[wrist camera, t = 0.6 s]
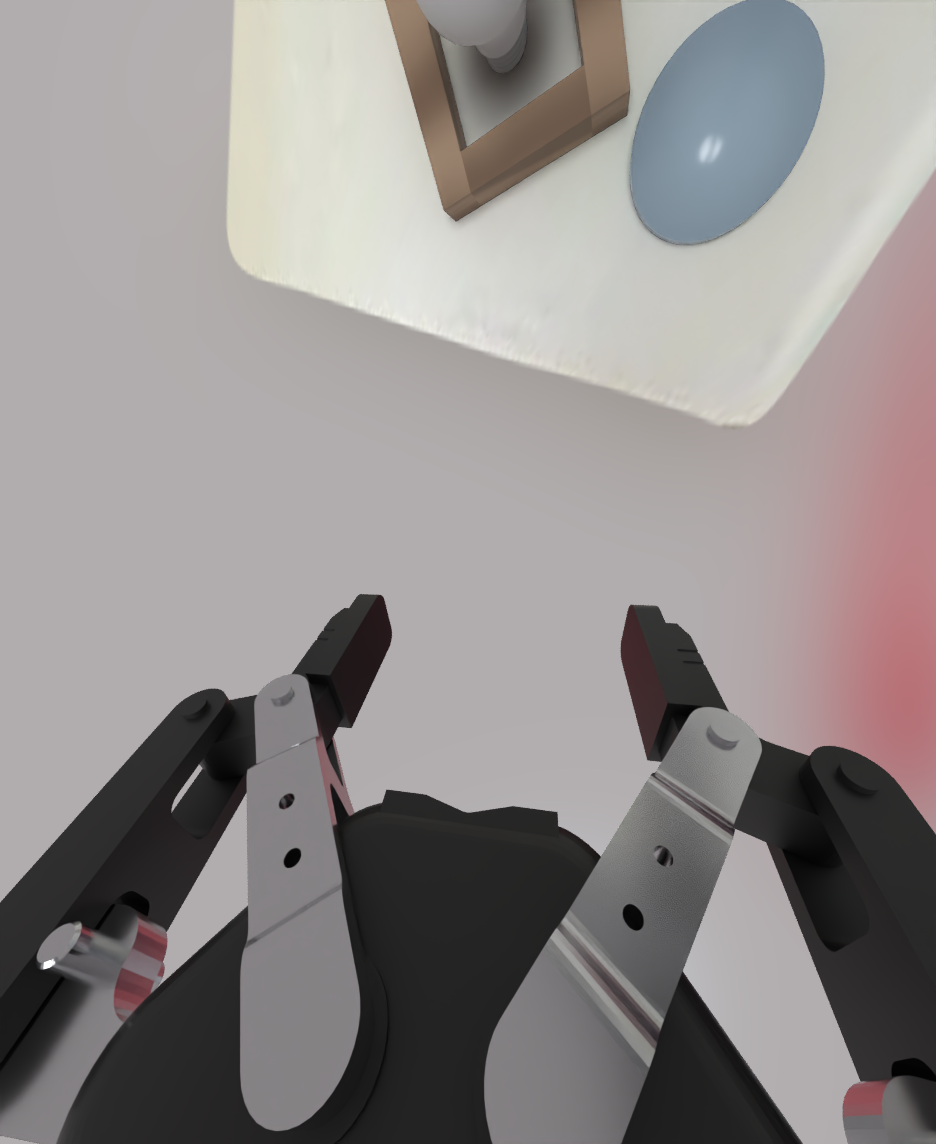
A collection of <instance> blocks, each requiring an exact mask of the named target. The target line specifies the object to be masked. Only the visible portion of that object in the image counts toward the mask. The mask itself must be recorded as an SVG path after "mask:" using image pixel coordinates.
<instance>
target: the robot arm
mask: <svg viewBox="0 0 936 1144" xmlns="http://www.w3.org/2000/svg"><path fill="white" fill-rule="evenodd" d="M391 638H392V629H391V625H390V621H389V617H388V613H387V609H386V605H385V601H384V598H383V596H381V595H368V594H360V595H358V596H357V597H356V599H355V600H354V602H353V603H352V605H351V606H350V608H344V609H343V610H341V611H340V612H338V613H337V614H336V615H335V616H333V617H332V618H331V619H330V621H329V622H328V624H327V625H326V626H325V628H324V631H322V632H321V633H320V635H319V636H318V638H317V640H316V641H315V642H314V643H313V645H312V646H311V647H310V649H309V650H308V652H307V653H306V654H305V656H304V657H303V659H302V660H301V662H300V663H299V664H298V666H297V667H296V668H295V670H294V671H293V673H292V674H290V675H285V676H282V677H279V678H277V679H275V680H273V681H271V682H270V683H269V684H267V685H266V686H265V687H264V688H263V689H262V690H261V691H260V692H259V694H258V695H254V696H249V697H244V698H239V699H234V700H229V699H228V698H227V696H226V695H225V693H224V692H223V691H222V690H219V689H206V690H203V691H200V692H197V693H195V694H193V695H191V696H189V697H188V698H186V699H184V700H183V701H182V702H180V703H179V704H178V705H177V706H176V707H175V708H174V709H173V710H172V711H171V712H170V713H169V714H168V716H167V717H166V718H165V719H164V720H163V721H162V722H161V724H160V725H159V726H158V727H157V728H156V729H155V730H154V731H153V732H152V734H151V735H150V736H149V737H148V738H147V739H146V740H145V741H144V742H143V744H142V745H141V746H140V747H139V748H138V749H137V750H136V751H135V753H134V754H133V755H132V756H131V757H130V758H129V759H128V760H127V761H126V763H125V764H124V765H123V766H122V767H121V768H120V769H119V771H118V772H117V773H116V774H115V775H114V776H113V777H112V778H111V780H110V781H109V782H108V783H107V784H106V785H105V786H104V787H103V788H102V790H100V792H99V793H98V794H97V795H96V796H95V797H94V798H93V800H92V801H91V802H90V803H89V804H88V805H87V806H86V807H85V809H84V810H83V811H82V812H81V813H80V814H79V815H78V816H77V817H76V819H75V820H74V821H73V822H72V823H71V824H70V825H69V826H68V827H67V829H66V830H65V831H64V832H63V833H62V834H61V835H60V836H59V837H58V839H57V840H56V841H55V842H54V843H53V844H52V845H51V847H50V848H49V849H48V850H47V851H46V852H45V853H44V854H43V855H42V857H41V858H40V859H39V860H38V861H37V862H36V863H35V864H34V865H33V867H32V868H31V869H30V870H29V871H28V872H27V873H26V874H25V876H24V877H23V878H22V879H21V880H20V881H19V882H18V883H17V884H16V886H15V887H14V888H13V889H12V890H11V891H10V892H9V893H8V894H7V896H6V897H5V898H4V899H3V900H2V901H1V903H0V1136H5V1137H10V1138H15V1139H19V1140H24V1141H29V1142H34V1143H39V1144H803V1143H802V1142H801V1140H800V1139H799V1138H798V1136H797V1135H796V1133H795V1132H794V1130H793V1129H792V1127H791V1126H790V1125H789V1123H788V1122H787V1120H786V1119H785V1117H784V1116H783V1114H782V1113H781V1112H780V1110H779V1109H778V1107H777V1106H776V1105H775V1103H774V1102H773V1100H772V1099H771V1097H770V1096H769V1094H768V1093H767V1092H766V1090H765V1089H764V1088H763V1086H762V1084H761V1083H760V1082H759V1080H758V1079H757V1077H756V1076H755V1074H754V1073H753V1072H752V1070H751V1069H750V1067H749V1066H748V1064H747V1063H746V1061H745V1060H744V1059H743V1057H742V1056H741V1055H740V1053H739V1051H738V1050H737V1049H736V1047H735V1046H734V1044H733V1043H732V1041H731V1040H730V1039H729V1037H728V1036H727V1034H726V1033H725V1031H724V1030H723V1029H722V1027H721V1026H720V1025H719V1023H718V1021H717V1020H716V1018H715V1017H714V1016H713V1014H712V1013H711V1011H710V1010H709V1008H708V1007H707V1006H706V1004H705V1003H704V1002H703V1000H702V998H701V997H700V996H699V994H698V993H697V991H696V990H695V989H694V987H693V986H692V984H691V983H690V981H689V980H688V979H687V977H686V975H685V974H684V973H683V968H684V966H685V963H686V960H687V958H688V955H689V953H690V950H691V947H692V945H693V942H694V940H695V937H696V934H697V931H698V929H699V927H700V924H701V921H702V919H703V916H704V913H705V911H706V908H707V905H708V903H709V900H710V898H711V895H712V892H713V890H714V887H715V885H716V882H717V879H718V877H719V874H720V871H721V869H722V866H723V863H724V861H725V858H726V856H727V853H728V850H729V848H730V845H731V842H732V839H733V836H734V832H735V829H737V830H740V831H742V832H744V833H746V834H749V835H751V836H753V837H756V838H758V839H760V840H762V841H765V842H766V843H767V845H768V848H769V850H770V853H771V855H772V858H773V860H774V863H775V866H776V868H777V870H778V873H779V875H780V878H781V881H782V883H783V886H784V888H785V891H786V893H787V896H788V899H789V901H790V904H791V906H792V909H793V911H794V914H795V916H796V919H797V921H798V924H799V926H800V929H801V931H802V934H803V937H804V939H805V941H806V944H807V946H808V949H809V952H810V954H811V956H812V959H813V962H814V964H815V967H816V970H817V972H818V974H819V977H820V979H821V982H822V985H823V987H824V990H825V992H826V995H827V997H828V1000H829V1002H830V1005H831V1008H832V1010H833V1013H834V1015H835V1018H836V1020H837V1023H838V1025H839V1028H840V1030H841V1033H842V1035H843V1038H844V1040H845V1043H846V1046H847V1048H848V1051H849V1053H850V1056H851V1058H852V1060H853V1063H854V1066H855V1068H856V1071H857V1073H858V1076H859V1079H860V1081H861V1082H858V1083H856V1084H854V1085H852V1086H851V1087H850V1088H849V1089H848V1091H847V1093H846V1095H845V1097H844V1102H843V1123H844V1130H845V1134H846V1137H847V1142H848V1144H936V834H935V833H934V831H933V830H932V829H931V827H930V826H929V825H928V823H927V822H926V821H925V819H924V818H923V816H922V815H921V814H920V812H919V811H918V810H917V808H916V807H915V806H914V804H913V803H912V801H911V800H910V799H909V797H908V796H907V795H906V793H905V792H904V791H903V789H902V788H901V787H900V785H899V784H898V783H897V782H896V780H895V779H894V778H893V777H891V775H890V774H889V773H887V772H886V771H885V770H884V769H883V768H881V767H880V766H878V765H877V764H876V763H874V762H873V761H871V760H869V759H868V758H866V757H864V756H862V755H860V754H858V753H856V752H853V751H851V750H848V749H844V748H840V747H836V746H822V747H819V748H817V749H815V750H814V751H813V752H812V754H811V755H810V756H808V755H804V754H802V753H798V752H795V751H793V750H790V749H787V748H784V747H781V746H778V745H775V744H772V743H769V742H767V741H765V740H762V739H760V738H758V736H757V734H756V733H755V732H754V730H753V729H752V728H751V727H750V726H749V725H748V724H747V723H746V722H744V721H743V720H742V719H741V718H739V717H737V716H736V715H734V714H732V713H730V712H729V711H728V709H727V707H726V705H725V703H724V701H723V700H722V697H721V696H720V694H719V691H718V690H717V688H716V686H715V684H714V682H713V680H712V678H711V676H710V674H709V672H708V670H707V668H706V666H705V665H704V664H703V660H702V658H701V656H700V654H699V653H698V652H697V651H698V650H697V648H696V646H695V644H694V642H693V640H692V638H691V636H690V635H689V634H687V633H686V632H685V631H684V630H683V629H682V628H681V627H680V626H679V625H678V624H673V623H665V620H664V618H663V616H662V614H661V611H660V609H659V607H657V606H646V605H645V606H644V605H630V606H629V609H628V612H627V617H626V622H625V627H624V631H623V636H622V640H621V660H622V664H623V668H624V671H625V676H626V679H627V683H628V687H629V691H630V695H631V699H632V702H633V706H634V710H635V714H636V718H637V722H638V726H639V729H640V733H641V737H642V741H643V745H644V749H645V753H646V756H647V760H650V761H659V762H661V764H660V766H659V767H658V769H657V771H656V772H655V773H652V774H651V776H650V777H649V779H648V780H647V782H646V783H645V785H644V787H643V789H642V790H641V792H640V793H639V795H638V797H637V798H636V800H635V802H634V803H633V805H632V806H631V808H630V810H629V812H628V813H627V815H626V816H625V818H624V820H623V821H622V823H621V825H620V826H619V828H618V830H617V831H616V833H615V835H614V836H613V838H612V840H611V841H610V843H609V845H608V846H607V848H606V850H605V851H604V853H603V854H602V856H600V855H599V854H598V853H597V852H596V851H595V850H594V849H593V848H591V847H590V846H589V845H588V844H587V843H586V842H584V841H583V840H582V839H580V838H579V837H578V836H576V835H574V834H573V833H571V832H569V831H568V830H566V829H564V828H561V827H559V826H558V814H557V812H552V811H545V810H537V809H530V808H521V807H515V806H512V807H506V808H498V809H492V810H485V811H479V812H472V813H466V812H463V811H461V810H458V809H456V808H454V807H452V806H450V805H447V804H445V803H443V802H441V801H438V800H436V799H434V798H432V797H430V796H427V795H423V794H416V793H408V792H401V791H393V790H386V793H385V796H384V799H383V802H382V803H379V804H376V805H372V806H369V807H366V808H364V809H362V810H359V811H358V812H356V813H354V810H353V807H352V804H351V801H350V799H349V795H348V792H347V788H346V784H345V780H344V776H343V772H342V767H341V763H340V760H339V755H338V751H337V747H336V743H335V740H334V737H333V736H334V734H335V732H336V730H337V728H338V727H346V728H352V726H353V724H354V722H355V720H356V717H357V715H358V713H359V711H360V709H361V707H362V705H363V702H364V700H365V698H366V696H367V694H368V692H369V689H370V687H371V685H372V683H373V681H374V679H375V677H376V674H377V672H378V670H379V668H380V665H381V664H382V662H383V659H384V657H385V655H386V653H387V651H388V649H389V646H390V643H391ZM199 764H200V765H201V767H202V768H203V769H202V770H201V772H200V773H199V775H198V776H197V778H196V779H195V780H194V782H193V783H192V785H191V786H190V787H189V789H188V790H187V792H186V793H185V794H184V796H183V797H182V799H181V800H180V802H179V803H178V804H177V806H176V807H175V809H174V810H173V812H172V813H171V809H172V804H173V802H174V799H175V797H176V796H177V794H178V793H179V791H180V790H181V789H182V787H183V786H184V784H185V783H186V782H187V780H188V779H189V777H190V776H191V775H192V773H193V772H194V771H195V769H196V768H197V766H198V765H199ZM246 792H247V853H248V854H247V855H248V906H247V907H246V908H245V909H244V910H243V911H241V912H240V913H239V914H238V915H237V916H236V917H235V918H234V919H232V920H231V921H230V922H229V923H228V924H227V925H226V926H225V927H224V928H223V929H221V930H220V931H219V932H218V933H217V934H216V935H215V936H214V937H213V938H212V939H211V940H209V941H208V942H207V943H206V944H205V945H204V946H203V947H202V948H200V949H199V950H198V951H197V952H196V953H195V954H194V955H193V956H192V957H191V958H189V959H188V960H187V961H186V962H185V963H184V964H183V965H182V966H181V967H180V968H178V969H177V970H176V971H175V972H174V973H173V974H172V975H171V976H170V977H169V978H167V979H166V980H165V981H164V982H163V983H162V984H161V985H160V986H159V987H158V985H159V984H160V982H161V980H162V977H163V975H164V970H165V967H164V963H163V960H164V957H165V954H166V949H167V933H166V932H167V930H168V929H169V927H170V925H171V923H172V922H173V920H174V918H175V916H176V915H177V913H178V911H179V909H180V908H181V906H182V904H183V902H184V901H185V899H186V897H187V895H188V894H189V892H190V890H191V889H192V887H193V885H194V883H195V882H196V880H197V878H198V876H199V875H200V873H201V871H202V869H203V867H204V866H205V864H206V862H207V861H208V859H209V857H210V855H211V854H212V851H213V850H214V848H215V847H216V845H217V843H218V841H219V840H220V838H221V836H222V834H223V833H224V831H225V829H226V827H227V826H228V824H229V822H230V820H231V818H232V817H233V815H234V813H235V811H236V810H237V808H238V806H239V805H240V803H241V801H242V799H243V797H244V796H245V794H246ZM734 828H735V829H734Z"/></svg>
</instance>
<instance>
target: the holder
mask: <svg viewBox="0 0 936 1144" xmlns="http://www.w3.org/2000/svg"><path fill="white" fill-rule="evenodd" d="M385 2H386V6H387V9H388V13H389V16H390V20H391V24H392V27H393V31H394V34H395V38H396V41H397V45H398V49H399V52H400V56H401V59H402V63H403V66H404V70H405V74H406V77H407V81H408V84H409V88H410V91H411V95H412V99H413V102H414V106H415V109H416V113H417V116H418V120H419V124H420V127H421V131H422V134H423V138H424V141H425V145H426V149H427V152H428V156H429V159H430V163H431V166H432V170H433V174H434V177H435V181H436V184H437V188H438V191H439V195H440V198H441V202H442V206H443V209H444V211H445V212H446V213H447V214H448V215H450V216H451V217H452V218H453V219H454V220H455V221H457V220H459V219H460V218H462V217H464V216H465V215H467V214H469V213H470V212H472V211H473V210H475V209H477V208H478V207H480V206H481V205H483V204H485V203H486V202H488V201H489V200H491V199H493V198H494V197H496V196H498V195H499V194H501V193H502V192H504V191H506V190H507V189H509V188H510V187H512V186H514V185H515V184H517V183H519V182H520V181H522V180H523V179H525V178H527V177H528V176H530V175H531V174H533V173H535V172H536V171H538V170H539V169H541V168H543V167H544V166H546V165H548V164H549V163H551V162H552V161H554V160H556V159H557V158H559V157H560V156H562V155H564V154H565V153H567V152H568V151H570V150H572V149H573V148H575V147H577V146H578V145H580V144H581V143H583V142H585V141H586V140H588V139H589V138H591V137H593V136H594V135H596V134H598V133H599V132H601V131H602V130H604V129H606V128H607V127H609V126H610V125H612V124H614V123H615V122H617V121H618V120H620V119H622V118H623V117H625V116H627V112H628V103H629V95H630V85H629V75H628V66H627V57H626V47H625V38H624V28H623V19H622V10H621V0H573V5H574V12H575V19H576V26H577V33H578V40H579V48H580V55H581V62H582V66H581V67H580V68H579V69H577V70H576V71H574V72H573V73H572V74H570V75H569V76H567V77H566V78H564V79H563V80H562V81H560V82H559V83H557V84H556V85H555V86H553V87H552V88H550V89H549V90H547V91H546V92H545V93H543V94H542V95H540V96H539V97H538V98H536V99H535V100H533V101H532V102H530V103H529V104H528V105H526V106H525V107H523V108H522V109H521V110H519V111H518V112H516V113H515V114H513V115H512V116H511V117H509V118H508V119H506V120H505V121H504V122H502V123H501V124H499V125H498V126H496V127H495V128H494V129H492V130H491V131H489V132H488V133H487V134H485V135H484V136H482V137H481V138H479V139H478V140H477V141H475V142H474V143H472V144H471V145H470V146H468V147H466V143H465V139H464V134H463V130H462V126H461V122H460V118H459V114H458V110H457V106H456V102H455V98H454V94H453V90H452V86H451V82H450V78H449V74H448V70H447V66H446V61H445V57H444V53H443V49H442V45H441V41H440V37H439V33H438V31H437V30H436V29H435V28H434V27H433V26H432V25H431V24H430V23H429V22H428V20H427V19H426V17H425V15H424V14H423V12H422V10H421V9H420V7H419V5H418V3H417V1H416V0H385Z"/></svg>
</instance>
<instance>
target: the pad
mask: <svg viewBox="0 0 936 1144" xmlns="http://www.w3.org/2000/svg"><path fill="white" fill-rule="evenodd" d="M823 85H824V55H823V49H822V44H821V41H820V38H819V34H818V32H817V30H816V28H815V26H814V24H813V22H812V20H811V19H810V18H809V17H808V16H807V15H806V13H805V12H804V11H803V10H801V9H800V8H799V7H797V6H796V5H795V4H793V3H790V2H788V1H785V0H746V1H742V2H740V3H738V4H735V5H733V6H730V7H728V8H726V9H725V10H723V11H721V12H719V13H718V14H716V15H714V16H713V17H712V18H710V19H709V20H708V21H706V22H705V23H704V24H702V25H701V26H700V27H699V28H698V29H697V30H696V31H695V32H694V33H692V34H691V35H690V36H689V37H688V38H687V39H686V41H685V42H684V43H683V44H682V45H681V46H680V47H679V48H678V49H677V51H676V52H675V53H674V55H673V56H672V57H671V59H670V60H669V61H668V63H667V64H666V66H665V67H664V69H663V70H662V72H661V74H660V75H659V77H658V78H657V80H656V82H655V84H654V86H653V88H652V90H651V92H650V93H649V96H648V98H647V100H646V103H645V105H644V107H643V110H642V113H641V116H640V119H639V122H638V125H637V129H636V133H635V137H634V142H633V149H632V155H631V163H630V186H631V193H632V198H633V202H634V205H635V208H636V211H637V213H638V215H639V217H640V219H641V220H642V222H643V223H644V225H645V226H646V227H647V228H648V229H649V230H650V231H651V232H652V233H653V234H654V235H656V236H657V237H659V238H660V239H663V240H665V241H667V242H670V243H675V244H683V245H689V244H698V243H702V242H706V241H709V240H712V239H715V238H717V237H720V236H722V235H723V234H725V233H727V232H729V231H731V230H732V229H734V228H735V227H737V226H738V225H740V224H741V223H743V222H744V221H745V220H746V219H748V218H749V217H750V216H751V215H752V214H754V213H755V212H756V211H757V210H758V209H759V208H760V207H761V206H762V205H763V204H764V203H765V202H766V201H767V200H768V199H769V198H770V197H771V196H772V195H773V194H774V193H775V191H776V190H777V189H778V188H779V187H780V186H781V184H782V183H783V182H784V180H785V179H786V177H787V176H788V175H789V173H790V172H791V170H792V169H793V167H794V165H795V164H796V162H797V161H798V159H799V157H800V155H801V153H802V151H803V150H804V148H805V146H806V144H807V142H808V139H809V137H810V134H811V132H812V130H813V127H814V124H815V121H816V118H817V115H818V111H819V108H820V103H821V98H822V94H823Z"/></svg>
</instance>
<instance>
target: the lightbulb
mask: <svg viewBox="0 0 936 1144" xmlns="http://www.w3.org/2000/svg"><path fill="white" fill-rule="evenodd" d="M416 1H417V3H418V5H419V7H420V9H421V10H422V12H423V14H424V15H425V17H426V19H427V20H428V22H429V23H430V24H431V25H432V26H433V27H434V28H435V29H436V30H437V31H438V32H439V33H440V34H441V35H442V36H443V37H444V38H446V39H448V40H449V41H451V42H453V43H454V44H458V45H462V46H473V45H475V46H476V48H477V49H478V51H479V52H480V53H481V54H483V55H484V56H485V58H486V60H487V61H488V63H489V65H490V66H491V68H492V69H493V70H494V71H496V72H498V73H506V72H509V71H510V70H512V69H513V68H514V67H515V66H516V65H517V63H518V62H519V60H520V59H521V57H522V55H523V52H524V49H525V45H526V41H527V20H526V4H527V0H416Z"/></svg>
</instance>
